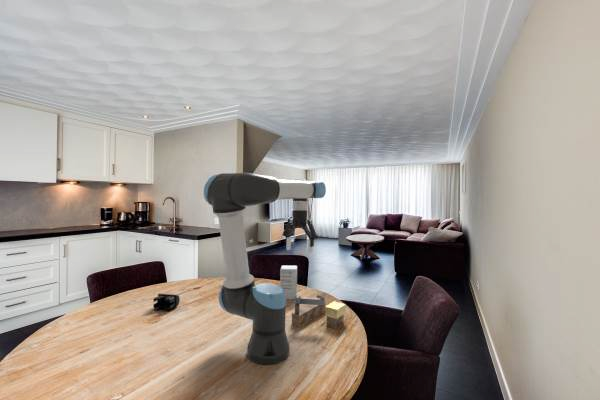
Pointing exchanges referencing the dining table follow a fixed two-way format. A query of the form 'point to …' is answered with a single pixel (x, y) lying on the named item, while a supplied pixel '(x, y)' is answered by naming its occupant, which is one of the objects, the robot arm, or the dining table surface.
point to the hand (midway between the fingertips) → (299, 251)
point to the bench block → (334, 321)
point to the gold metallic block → (335, 310)
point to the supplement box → (289, 280)
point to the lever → (309, 300)
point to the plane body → (306, 313)
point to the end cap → (166, 302)
